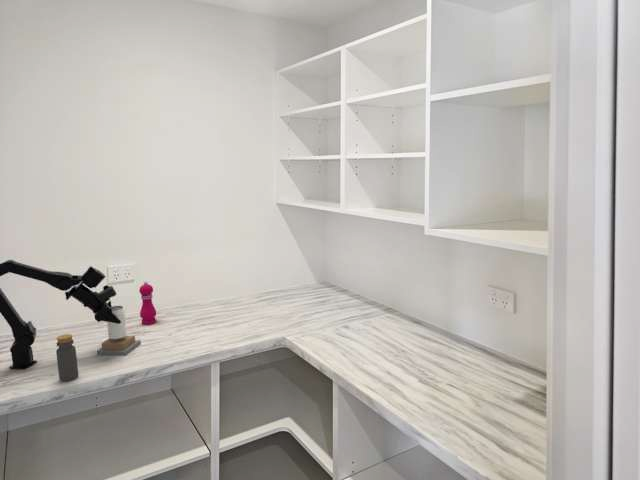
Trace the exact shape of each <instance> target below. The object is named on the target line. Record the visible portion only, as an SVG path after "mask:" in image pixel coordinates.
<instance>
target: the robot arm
mask: <svg viewBox="0 0 640 480" xmlns="http://www.w3.org/2000/svg"><path fill="white" fill-rule="evenodd" d="M9 273H10V274H14V275H18V276H22V277H26V278H30V279H33V280H35V281H40V282H43V283H45V284H48V285H49V286H51V287H52V288H56V289H58V290H60V291H64V295H65V300H66V301H67V300H69V299H70V298H71V297H72V298H73V299H75V300H76V301H78V302H79V303H80V304H82V305H83V307H84V308H88V309H89V310H90V311H91V312H92V314H94V320H95V321H97V322H98V323H100V322H112V323H117V324H120V323H121V321H120V320H119V319H118V318H117V317H116V316H115V315H114V314H113V313H112V300H111V298H113V297H115V296H117V291H116V290H115V288H114V286H113V285H110V286H109V285H108V284H106V285H103V287H102V290H101V291H100V292H97V291H93V290H91V289H93V288H94V289H96V288H97V287H98V286H99V284H100V283H101V282H103V280H105V278H106V275H105V274H104V273H103V272H102V271H101V270H99V269H96V268H95V267H94V266H92V265H90V266H89V267H88V268H87V270H86V271H85V272H84V273H83V274H82V275H79V274H77V275H76V274H75V275H74V274H73V275H72V274H71V273H70V272H64V271H63V272H62V271H51V270H45V269H43V268H39V267H36V266H31V265H29V264H25V263H22V262H17V261H15V260H13V259H7V260H5V261H4V262H2V263H0V277H2V276H4V275H6V274H9ZM0 314H1V316H2V317H3V318H4V320H5V321H6V323H7V324H8V325H9V326H10V329H11V333H12V336H13V338H14V341H13V342H12V343H11V346H10V349H9V352H10V354H11V361H12V364H11V365H10V366H9V369H10V370H11V369H12V370H13V369H15V370H18V369H19V370H24V369H25V370H26V369H28V368H29V367H31V366H33V365H35V364H36V363H37V362H38V360H34V353H33V349H32V348H33V347H32V345H33V344H34V343H35V340H36V338H37V328H36V327H35V326H34V324H33V322H32V321H31V320H29V321H28V322H27V321H25V320H24V319H22V317H21V316H20V314H19V313H18V311H17V310H16V309H15V307H14V306H13V304H12V303H11V301H10V300H9V298H8V297H7V295H6V294H5V293H4V292H3V289H1V287H0Z"/></svg>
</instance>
